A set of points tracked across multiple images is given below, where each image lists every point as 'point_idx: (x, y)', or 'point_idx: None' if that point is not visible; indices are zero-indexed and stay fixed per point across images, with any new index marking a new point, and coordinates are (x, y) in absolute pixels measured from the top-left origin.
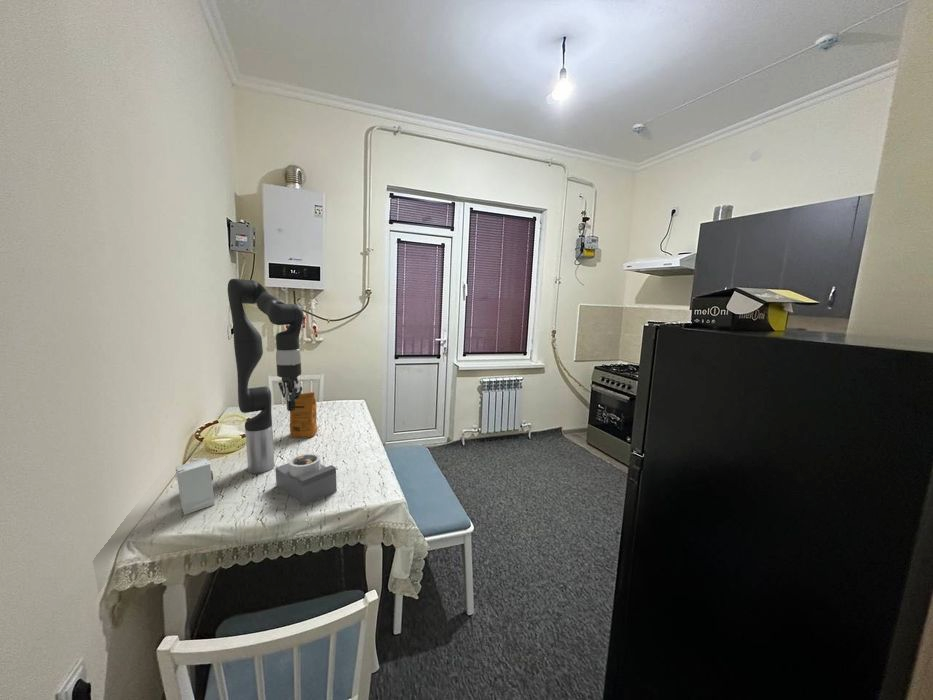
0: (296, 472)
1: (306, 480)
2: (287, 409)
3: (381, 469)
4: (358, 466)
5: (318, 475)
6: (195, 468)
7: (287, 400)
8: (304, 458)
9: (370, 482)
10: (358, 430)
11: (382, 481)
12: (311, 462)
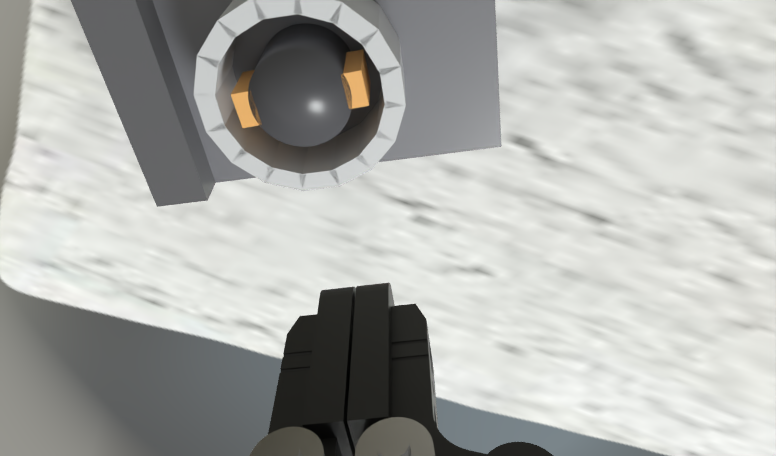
0: (232, 3)
1: (82, 18)
2: (375, 290)
3: (278, 344)
4: None
5: (114, 99)
6: None
7: (381, 426)
8: (325, 105)
9: (191, 271)
10: (743, 434)
11: (171, 306)
12: (242, 120)
